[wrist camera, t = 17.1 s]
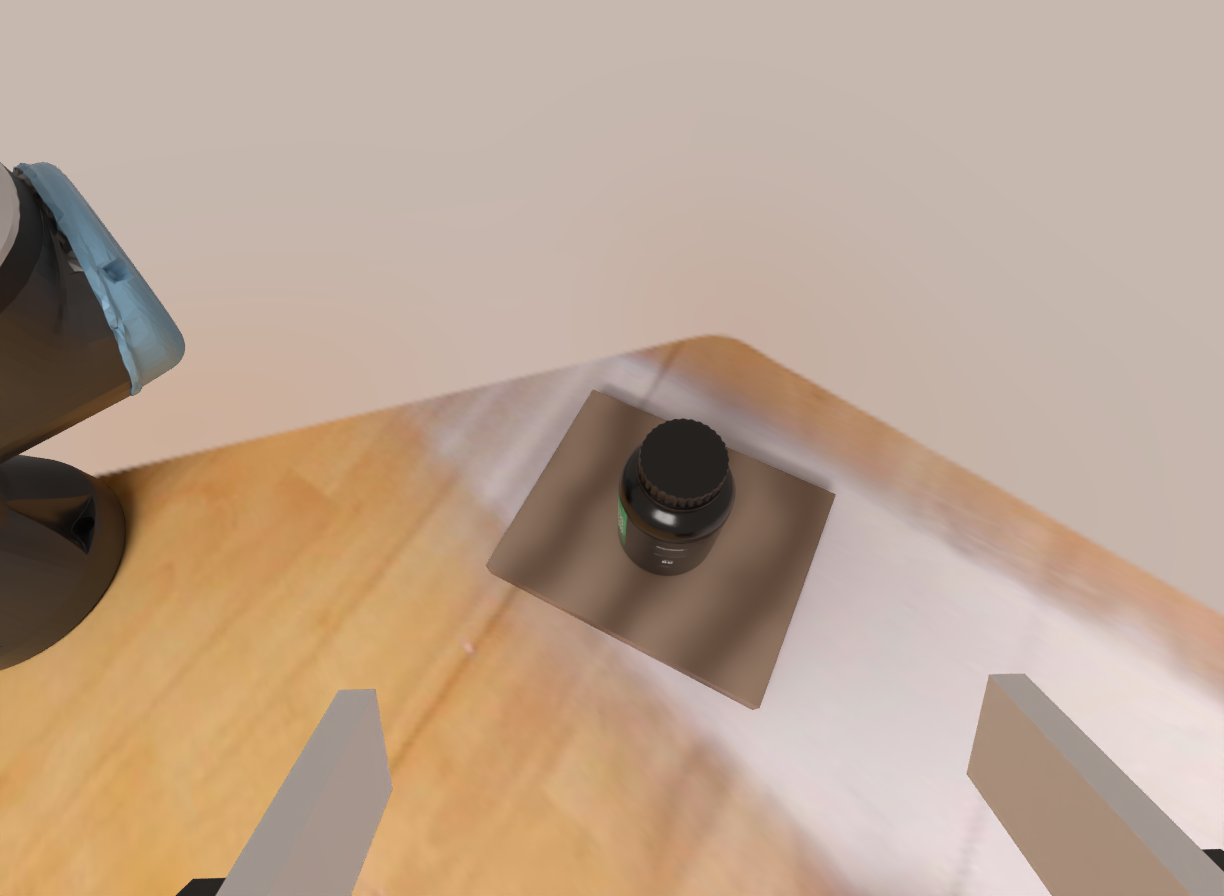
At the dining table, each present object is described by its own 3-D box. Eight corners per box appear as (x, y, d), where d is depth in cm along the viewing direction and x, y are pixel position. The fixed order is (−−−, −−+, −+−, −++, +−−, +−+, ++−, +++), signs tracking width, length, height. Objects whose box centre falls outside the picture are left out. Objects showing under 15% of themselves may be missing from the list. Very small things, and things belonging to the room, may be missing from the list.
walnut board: (491, 573, 42) (485, 565, 40) (593, 402, 49) (592, 389, 47) (752, 709, 38) (759, 708, 36) (826, 504, 45) (835, 494, 43)
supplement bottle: (604, 559, 41) (601, 494, 30) (634, 474, 44) (641, 387, 33) (699, 592, 40) (732, 536, 29) (724, 502, 43) (762, 421, 32)
